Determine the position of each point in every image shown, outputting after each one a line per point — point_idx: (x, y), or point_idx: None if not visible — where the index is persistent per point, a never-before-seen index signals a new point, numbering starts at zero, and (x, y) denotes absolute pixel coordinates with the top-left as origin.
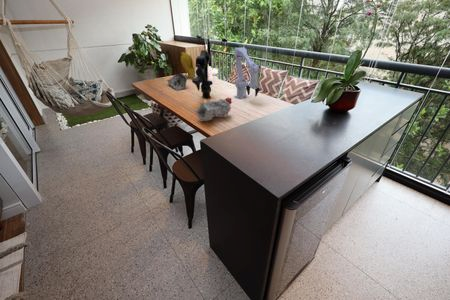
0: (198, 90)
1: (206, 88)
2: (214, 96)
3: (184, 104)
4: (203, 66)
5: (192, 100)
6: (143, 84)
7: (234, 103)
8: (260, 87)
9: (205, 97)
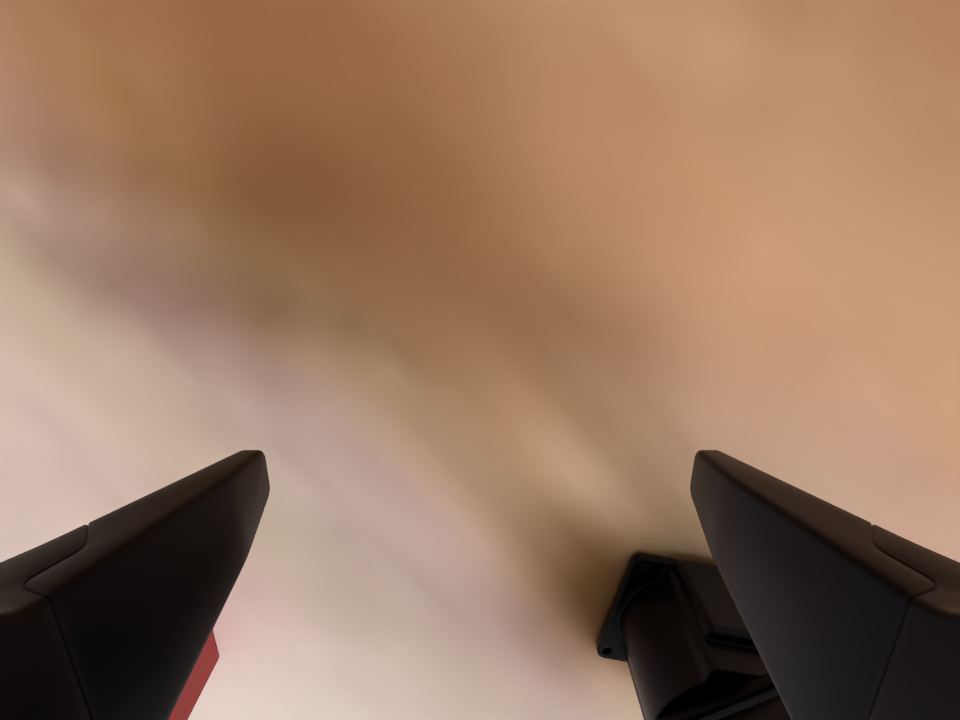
0: (703, 452)
1: (44, 556)
2: (575, 707)
3: (891, 28)
4: None
5: (845, 350)
6: None
7: None
8: None
9: (663, 583)
